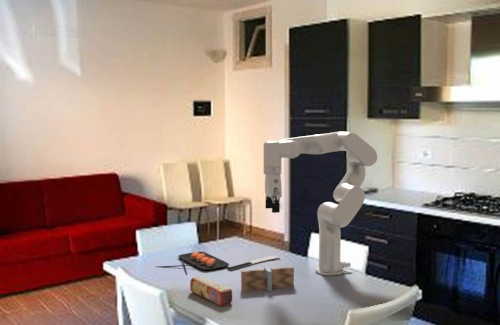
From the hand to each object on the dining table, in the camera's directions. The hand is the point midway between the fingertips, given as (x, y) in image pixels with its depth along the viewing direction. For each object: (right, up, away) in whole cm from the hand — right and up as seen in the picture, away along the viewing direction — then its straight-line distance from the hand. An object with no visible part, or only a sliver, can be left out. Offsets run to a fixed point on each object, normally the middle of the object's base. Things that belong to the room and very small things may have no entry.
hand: (272, 210), depth 225 cm
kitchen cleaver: (-9, -28, +28) cm, 41 cm away
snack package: (-25, -33, -18) cm, 45 cm away
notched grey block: (-2, -31, -8) cm, 32 cm away
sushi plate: (-39, -29, +25) cm, 54 cm away
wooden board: (-2, -31, -8) cm, 32 cm away
